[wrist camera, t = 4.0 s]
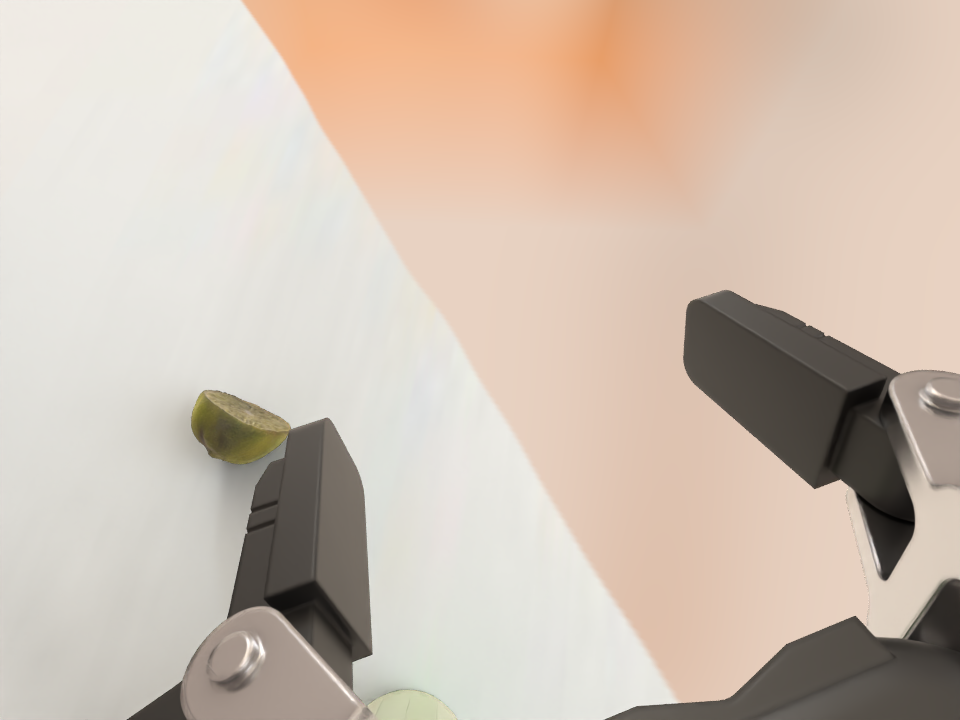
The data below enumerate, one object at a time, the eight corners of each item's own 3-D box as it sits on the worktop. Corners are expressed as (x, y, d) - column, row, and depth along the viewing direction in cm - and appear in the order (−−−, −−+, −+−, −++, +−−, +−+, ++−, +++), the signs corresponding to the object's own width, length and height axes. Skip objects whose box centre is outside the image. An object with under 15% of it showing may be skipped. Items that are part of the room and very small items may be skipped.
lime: (220, 404, 28) (177, 371, 24) (300, 398, 29) (274, 365, 24) (209, 477, 26) (161, 456, 22) (296, 469, 27) (267, 447, 22)
